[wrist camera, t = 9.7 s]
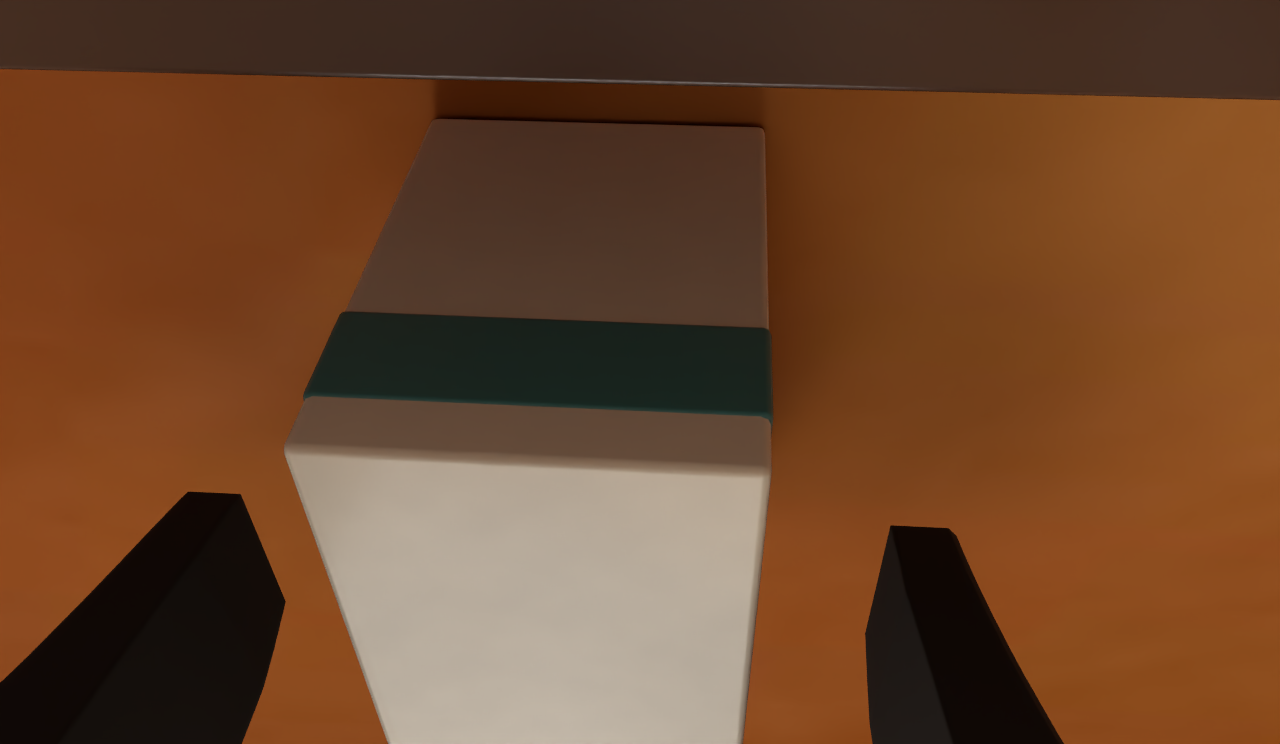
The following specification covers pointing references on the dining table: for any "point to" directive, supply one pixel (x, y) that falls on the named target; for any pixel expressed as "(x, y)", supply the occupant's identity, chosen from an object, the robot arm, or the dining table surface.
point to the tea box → (552, 436)
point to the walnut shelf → (679, 42)
